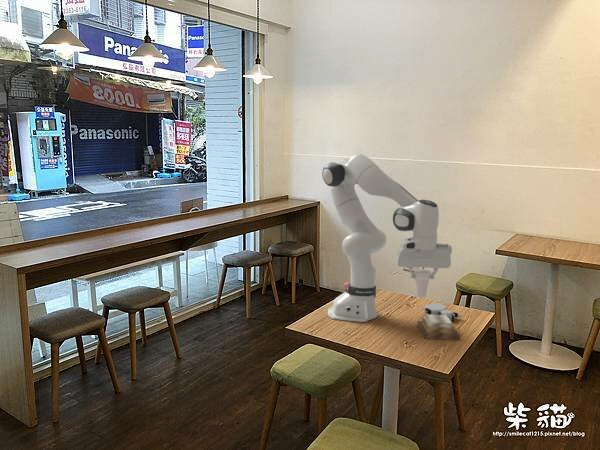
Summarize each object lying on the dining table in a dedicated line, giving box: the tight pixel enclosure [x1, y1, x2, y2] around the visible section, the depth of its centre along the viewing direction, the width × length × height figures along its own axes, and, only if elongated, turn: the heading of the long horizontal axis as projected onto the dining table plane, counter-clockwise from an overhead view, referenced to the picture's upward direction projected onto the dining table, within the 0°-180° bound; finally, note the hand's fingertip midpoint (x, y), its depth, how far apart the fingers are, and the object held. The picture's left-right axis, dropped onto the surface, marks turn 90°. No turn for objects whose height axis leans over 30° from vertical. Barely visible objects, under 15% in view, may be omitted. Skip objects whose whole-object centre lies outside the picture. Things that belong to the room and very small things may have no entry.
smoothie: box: [413, 267, 432, 298], centre depth 190 cm, size 6×6×14 cm
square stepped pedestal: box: [416, 313, 460, 341], centre depth 207 cm, size 14×14×6 cm
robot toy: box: [420, 302, 462, 322], centre depth 224 cm, size 12×4×15 cm
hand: (422, 278), depth 190 cm, fingers closed on smoothie, 6 cm apart
